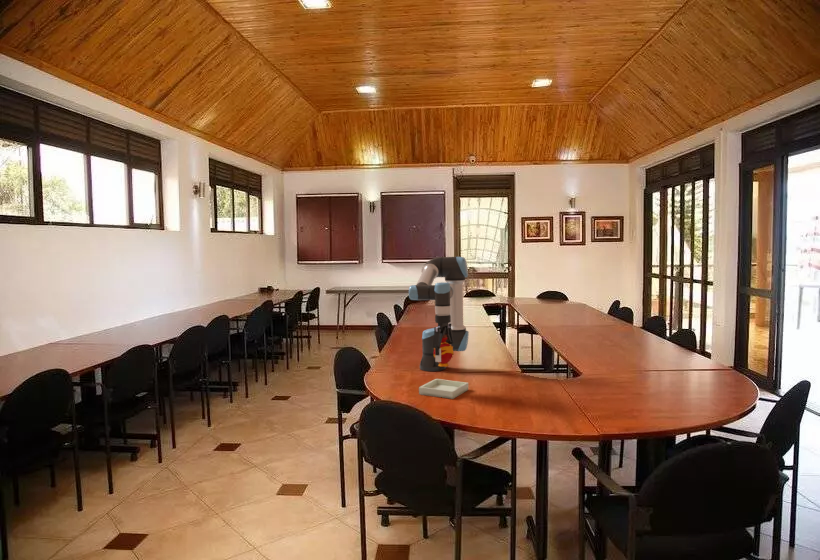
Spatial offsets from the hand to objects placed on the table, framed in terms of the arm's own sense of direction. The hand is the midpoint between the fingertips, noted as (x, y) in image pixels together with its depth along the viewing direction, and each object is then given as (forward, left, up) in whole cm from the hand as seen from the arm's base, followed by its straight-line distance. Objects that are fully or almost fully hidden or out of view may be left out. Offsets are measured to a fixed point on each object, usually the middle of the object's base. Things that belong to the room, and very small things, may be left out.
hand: (443, 359), depth 262 cm
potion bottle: (0, 0, -3) cm, 3 cm away
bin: (0, 0, -16) cm, 16 cm away
